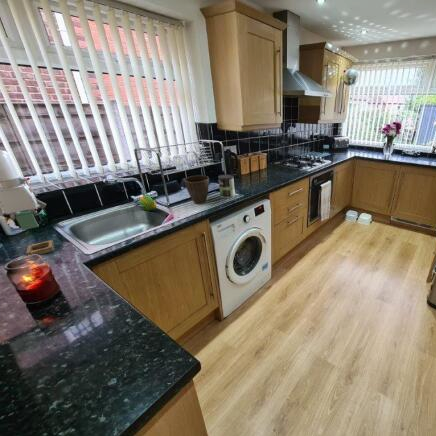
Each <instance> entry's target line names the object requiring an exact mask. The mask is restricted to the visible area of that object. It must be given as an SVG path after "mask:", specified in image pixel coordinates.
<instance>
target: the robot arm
mask: <svg viewBox="0 0 436 436" xmlns="http://www.w3.org/2000/svg"><path fill="white" fill-rule="evenodd" d="M26 182H28V179H27V178H26V177H25V178H23V177H21V176H20V174H19V172H18V170H17V168H16V165H15V164H14V162H13V159H12V158H11V156H10V154H9V153H8V151H6V150H2V149H0V217H2V218H5V219H10V220H11V221H13V224H14V225H15V227H18V228H19V229H22V228H21V227H20V225H19V223H18V221H17V219H16V214H17V213H21V212H26V211H32V212H33V213H34V218H35V220H36V222H37V224H39V225H41V222H42V221H43V219H42V217H41V216H40V213H41V212H42V211H43V210H44V209H45V208H46V207H47V203H45V202H43V201H41V200H39V199H37V198H36V195H35V193H34V192H33V191H32V189H31V188H30V186H29V185H28V184H27V183H26Z"/></svg>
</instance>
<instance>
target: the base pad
mask: <svg viewBox="0 0 436 436" xmlns="http://www.w3.org/2000/svg"><path fill="white" fill-rule="evenodd" d="M54 251H55V242H54V240H53V239H51V240H45V241H41V242H38V243H34V244H30V245H27V249H26V252H25V254H26V256H27V255H32V254H39V255H43V254H47V253H51V252H54Z"/></svg>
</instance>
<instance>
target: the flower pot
mask: <svg viewBox="0 0 436 436" xmlns="http://www.w3.org/2000/svg"><path fill="white" fill-rule="evenodd" d="M183 182H184V185H185V188H186V191H187V193H188V195H189V197H190V199H191V200H192V202H193V203H194V204H195V205H202V204H205V203H206V202H207V199H208V195H209V186H210V185H209V184H210V178H209V176H207V175H201V174H200V175H198V174H197V175H191V176H187V177H185V178H183Z"/></svg>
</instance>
